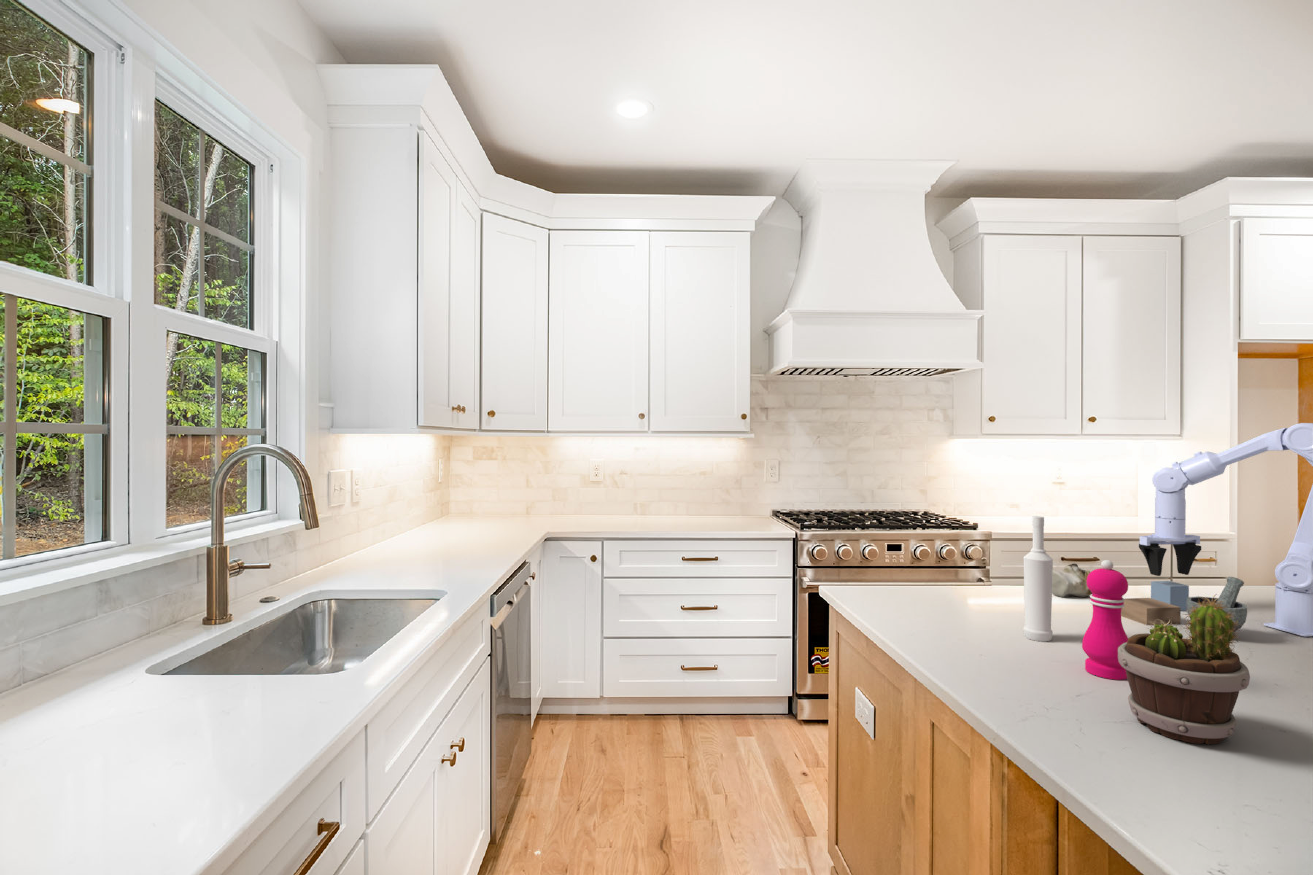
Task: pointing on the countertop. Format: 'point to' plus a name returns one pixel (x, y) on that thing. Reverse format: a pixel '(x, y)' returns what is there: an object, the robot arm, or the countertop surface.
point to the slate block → (1170, 593)
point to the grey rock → (1070, 581)
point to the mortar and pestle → (1226, 602)
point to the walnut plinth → (1151, 611)
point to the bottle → (1038, 587)
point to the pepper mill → (1105, 622)
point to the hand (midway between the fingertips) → (1169, 574)
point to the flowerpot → (1186, 676)
